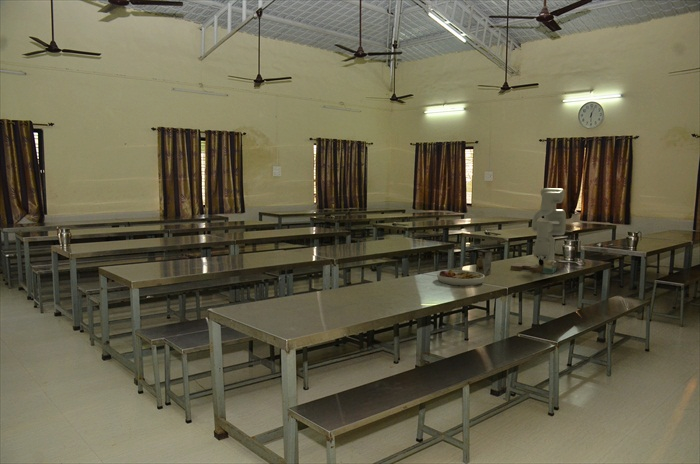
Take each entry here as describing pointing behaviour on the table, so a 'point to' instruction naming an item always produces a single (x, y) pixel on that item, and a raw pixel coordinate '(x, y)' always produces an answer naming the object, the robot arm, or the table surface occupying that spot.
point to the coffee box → (483, 261)
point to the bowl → (460, 277)
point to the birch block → (548, 264)
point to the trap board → (532, 268)
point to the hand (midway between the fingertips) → (540, 265)
